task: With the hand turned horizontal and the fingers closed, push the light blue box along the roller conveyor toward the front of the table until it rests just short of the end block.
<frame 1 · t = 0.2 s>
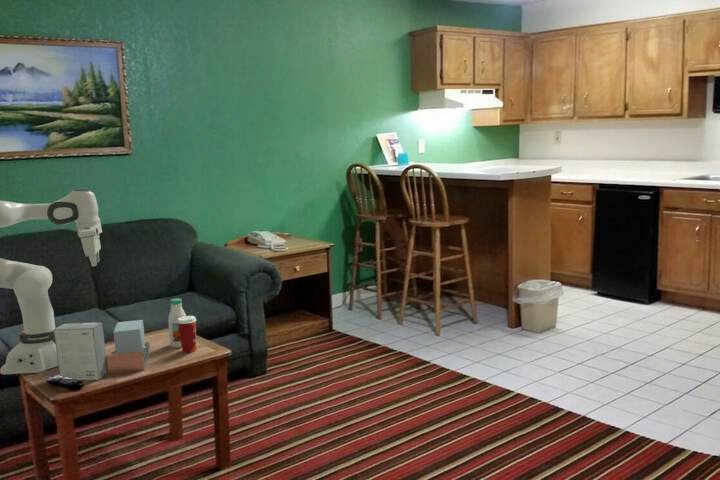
hand: (95, 264, 258), 39 cm above the table, tool pointing down, fingers open, 8 cm apart
light blue box: (129, 336, 266), point 8 cm above the table, slide at 0.0 cm
milk bottle: (179, 345, 277), on the table
hard drive box: (84, 377, 244), on the table
roller conveyor: (130, 358, 262), on the table
paper cup: (189, 351, 270), on the table
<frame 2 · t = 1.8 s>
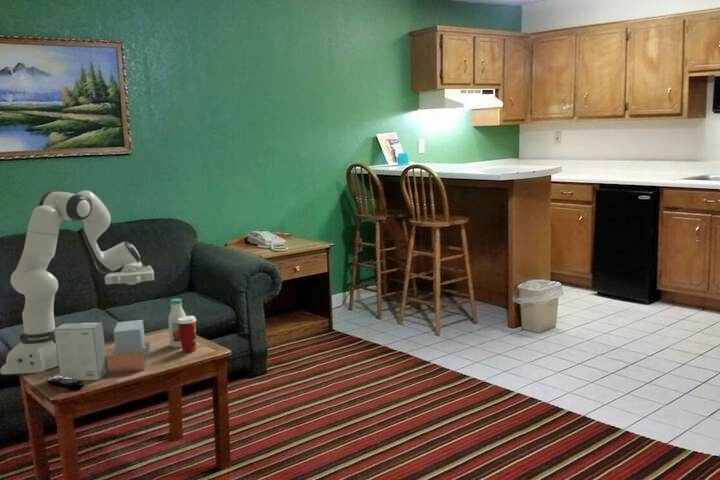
hand: (128, 280, 276), 28 cm above the table, tool horizontal, fingers open, 5 cm apart
nothing on the table moved.
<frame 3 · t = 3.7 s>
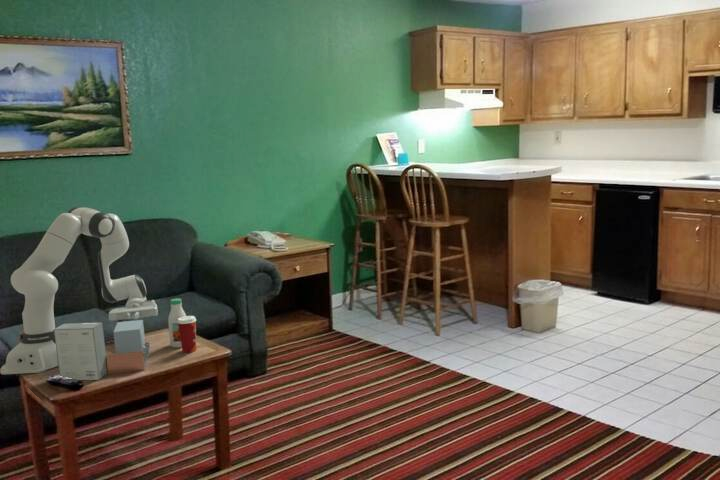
hand: (132, 317, 277), 12 cm above the table, tool horizontal, fingers closed
nothing on the table moved.
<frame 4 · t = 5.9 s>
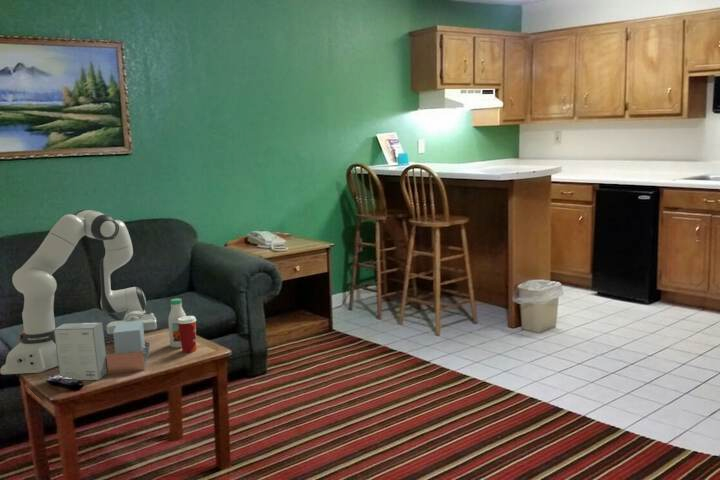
hand: (130, 331, 271), 8 cm above the table, tool horizontal, fingers closed, pressing on light blue box
light blue box: (129, 337, 265), point 8 cm above the table, slide at 1.0 cm, touching gripper
everything else where it was.
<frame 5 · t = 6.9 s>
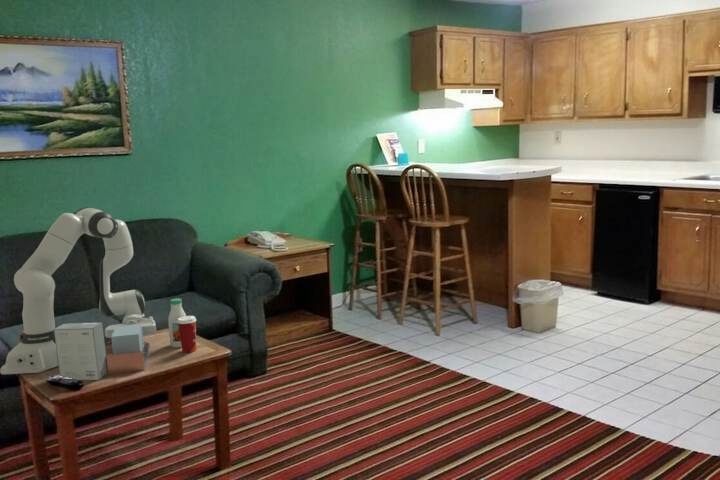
hand: (129, 335, 266), 8 cm above the table, tool horizontal, fingers closed, pressing on light blue box
light blue box: (127, 341, 259), point 8 cm above the table, slide at 6.8 cm, touching gripper
everything else where it was.
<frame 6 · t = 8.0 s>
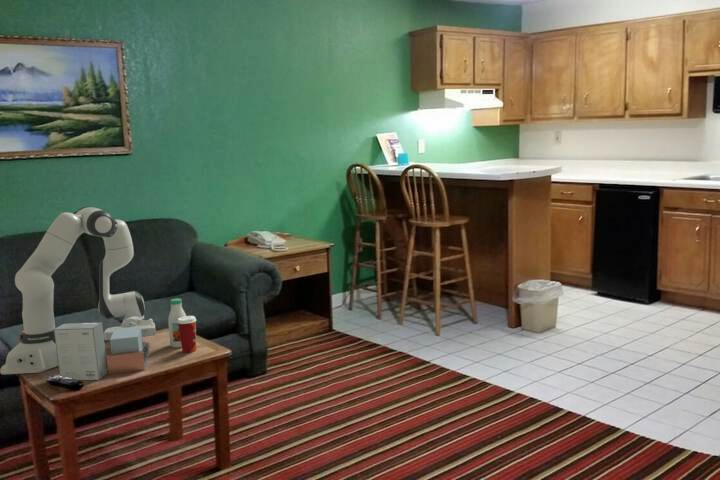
hand: (128, 337, 263), 8 cm above the table, tool horizontal, fingers closed, pressing on light blue box
light blue box: (127, 343, 256), point 8 cm above the table, slide at 10.3 cm, touching gripper
everything else where it was.
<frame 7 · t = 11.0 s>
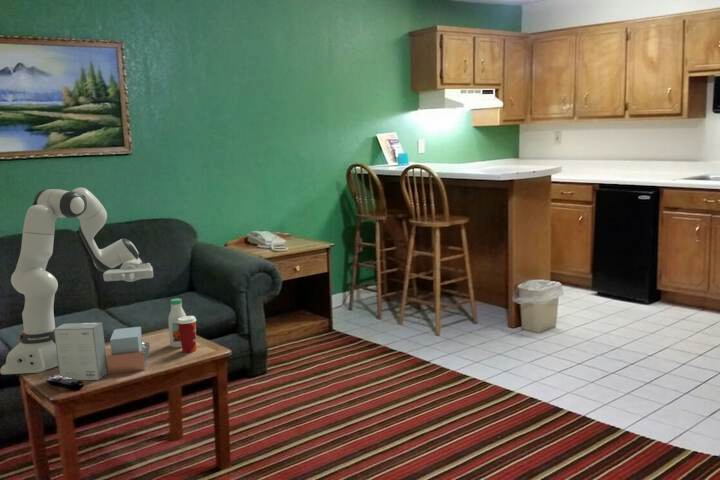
hand: (127, 278, 274), 30 cm above the table, tool horizontal, fingers closed
light blue box: (127, 344, 256), point 8 cm above the table, slide at 10.4 cm
everything else where it was.
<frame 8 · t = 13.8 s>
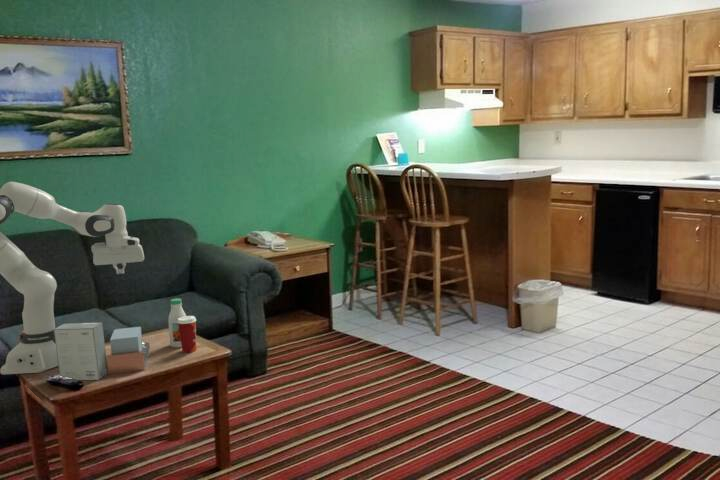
hand: (120, 273, 277), 31 cm above the table, tool pointing down, fingers closed
nothing on the table moved.
at the end: light blue box slide at 10.4 cm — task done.
